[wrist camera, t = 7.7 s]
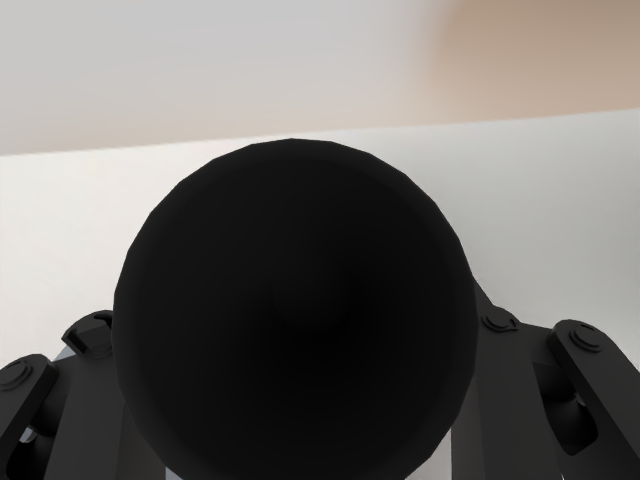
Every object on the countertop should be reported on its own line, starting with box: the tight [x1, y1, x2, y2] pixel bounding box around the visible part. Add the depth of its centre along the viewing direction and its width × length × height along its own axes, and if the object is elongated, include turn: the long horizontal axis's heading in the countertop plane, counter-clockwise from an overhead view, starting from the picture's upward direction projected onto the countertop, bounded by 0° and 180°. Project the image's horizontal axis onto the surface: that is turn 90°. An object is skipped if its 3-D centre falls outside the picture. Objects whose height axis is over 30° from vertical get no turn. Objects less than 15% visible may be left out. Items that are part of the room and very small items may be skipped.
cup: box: [111, 138, 480, 480], centre depth 12 cm, size 8×8×12 cm
